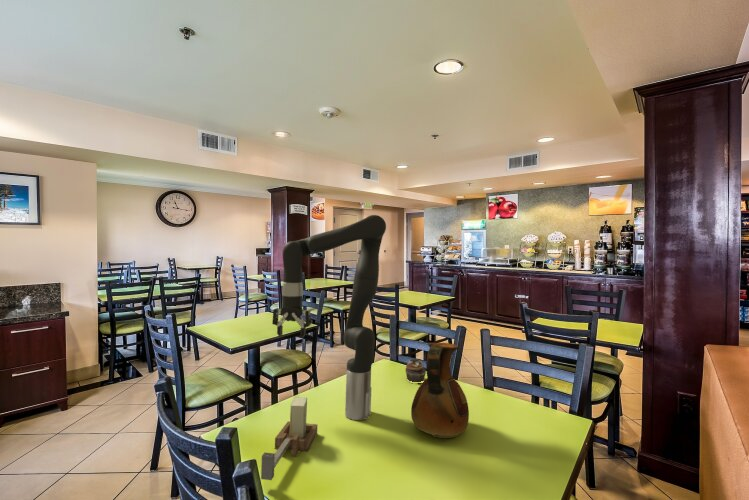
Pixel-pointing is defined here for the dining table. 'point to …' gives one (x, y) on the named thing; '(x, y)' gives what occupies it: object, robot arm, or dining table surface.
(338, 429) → the dining table surface
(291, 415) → the skincare box
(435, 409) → the ceramic pitcher
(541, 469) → the dining table surface
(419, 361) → the cupcake
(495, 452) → the dining table surface
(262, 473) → the pin
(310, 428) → the dock
